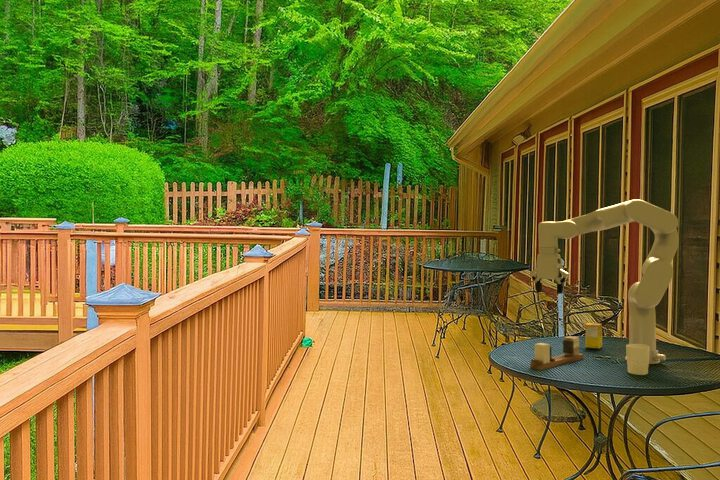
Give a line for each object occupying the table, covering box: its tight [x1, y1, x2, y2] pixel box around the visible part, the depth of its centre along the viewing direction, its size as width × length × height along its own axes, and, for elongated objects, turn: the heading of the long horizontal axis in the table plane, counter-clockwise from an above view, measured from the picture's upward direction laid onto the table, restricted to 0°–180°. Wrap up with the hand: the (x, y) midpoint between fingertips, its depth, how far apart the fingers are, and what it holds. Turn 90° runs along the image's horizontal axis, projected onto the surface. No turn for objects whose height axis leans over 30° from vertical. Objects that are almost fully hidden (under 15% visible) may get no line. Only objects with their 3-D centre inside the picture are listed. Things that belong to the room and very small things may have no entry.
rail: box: [530, 335, 585, 371], centre depth 234 cm, size 5×29×9 cm, turn 128°
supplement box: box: [584, 322, 603, 351], centre depth 261 cm, size 6×6×11 cm
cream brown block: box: [534, 342, 553, 364], centre depth 227 cm, size 4×5×7 cm
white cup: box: [625, 343, 650, 376], centre depth 217 cm, size 8×8×10 cm
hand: (549, 292), depth 244 cm, fingers open, 9 cm apart
